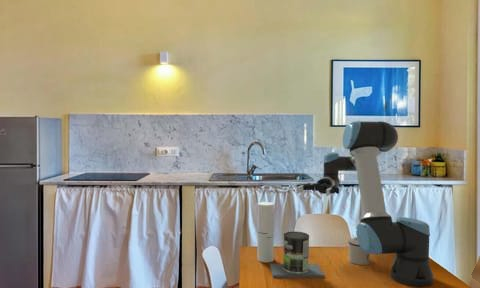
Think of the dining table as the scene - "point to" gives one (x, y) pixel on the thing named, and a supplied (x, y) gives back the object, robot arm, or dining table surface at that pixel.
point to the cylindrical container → (265, 232)
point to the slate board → (312, 272)
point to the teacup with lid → (357, 253)
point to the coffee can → (296, 252)
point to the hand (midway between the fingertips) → (312, 191)
